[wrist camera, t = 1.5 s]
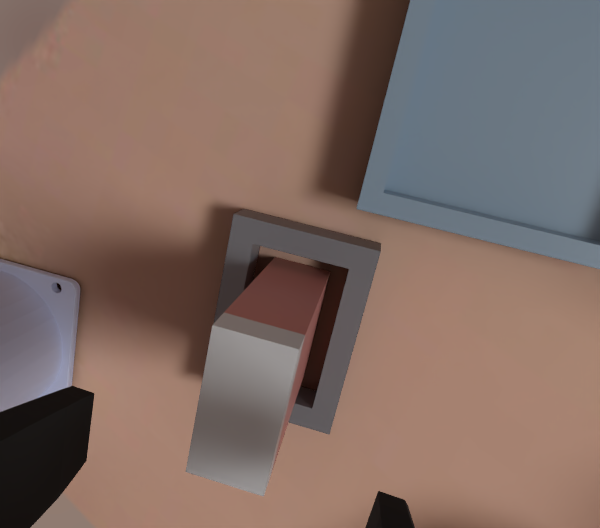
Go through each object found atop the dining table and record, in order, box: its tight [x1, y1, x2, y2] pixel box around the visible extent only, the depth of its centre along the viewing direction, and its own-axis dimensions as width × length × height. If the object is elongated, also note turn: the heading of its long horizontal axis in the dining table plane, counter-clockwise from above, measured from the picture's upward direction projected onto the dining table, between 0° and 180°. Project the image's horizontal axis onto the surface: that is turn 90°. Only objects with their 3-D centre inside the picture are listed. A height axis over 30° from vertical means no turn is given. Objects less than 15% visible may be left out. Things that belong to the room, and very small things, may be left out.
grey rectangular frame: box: [214, 209, 381, 434], centre depth 21 cm, size 6×8×2 cm
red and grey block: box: [186, 257, 330, 496], centre depth 17 cm, size 2×5×8 cm, turn 167°
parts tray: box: [357, 0, 600, 269], centre depth 16 cm, size 11×11×2 cm
